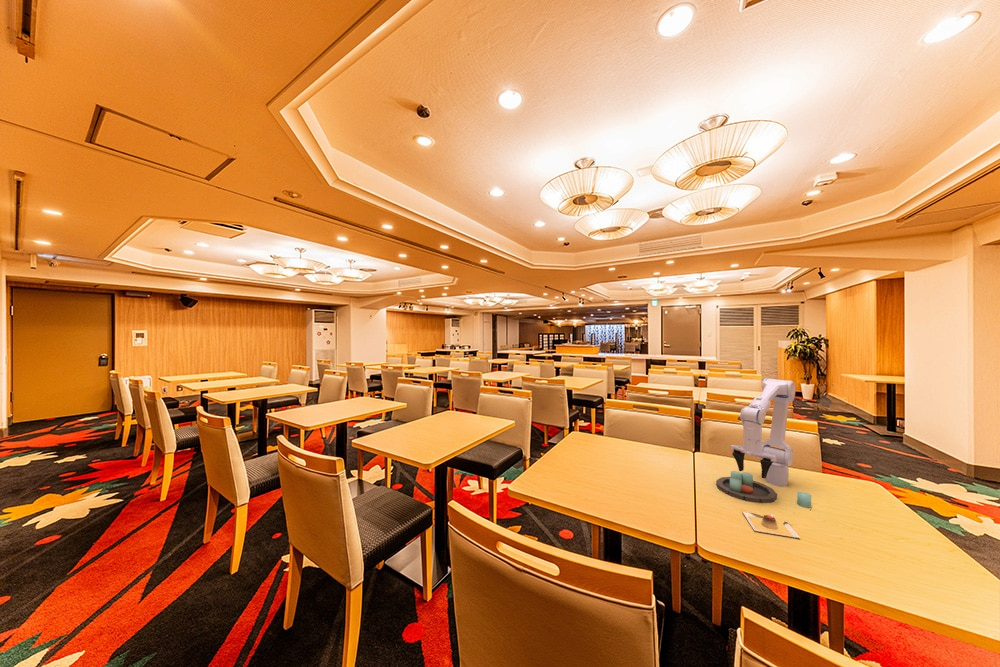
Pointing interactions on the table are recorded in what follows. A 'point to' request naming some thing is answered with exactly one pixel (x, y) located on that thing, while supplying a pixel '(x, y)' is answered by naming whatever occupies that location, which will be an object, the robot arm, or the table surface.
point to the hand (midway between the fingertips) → (752, 474)
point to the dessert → (770, 524)
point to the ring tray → (755, 497)
